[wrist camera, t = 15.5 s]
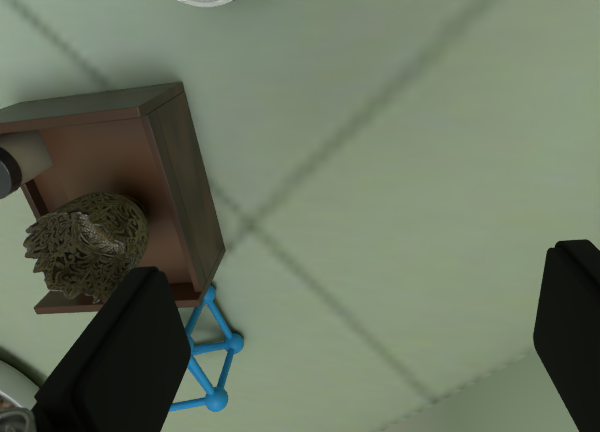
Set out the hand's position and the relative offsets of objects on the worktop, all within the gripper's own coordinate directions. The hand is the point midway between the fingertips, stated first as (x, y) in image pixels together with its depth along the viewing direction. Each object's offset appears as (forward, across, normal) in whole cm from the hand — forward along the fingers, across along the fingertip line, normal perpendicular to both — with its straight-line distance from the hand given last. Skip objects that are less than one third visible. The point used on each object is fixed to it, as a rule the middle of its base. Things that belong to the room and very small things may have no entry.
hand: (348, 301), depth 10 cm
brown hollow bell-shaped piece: (+22, +19, +7) cm, 30 cm away
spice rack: (+28, +22, +7) cm, 37 cm away
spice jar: (+25, +27, +2) cm, 37 cm away
